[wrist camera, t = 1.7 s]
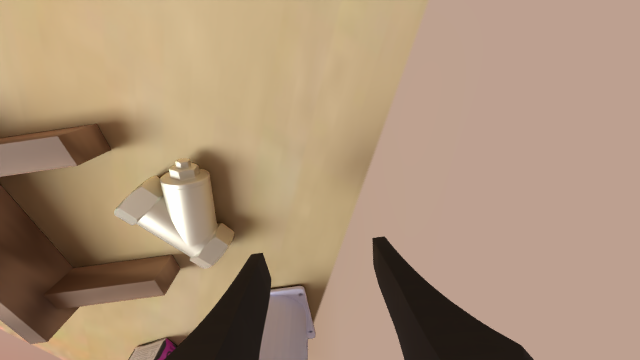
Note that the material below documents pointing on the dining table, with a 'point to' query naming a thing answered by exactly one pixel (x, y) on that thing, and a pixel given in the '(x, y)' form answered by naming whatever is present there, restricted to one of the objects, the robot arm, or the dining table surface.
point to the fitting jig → (45, 260)
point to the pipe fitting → (180, 212)
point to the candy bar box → (153, 350)
